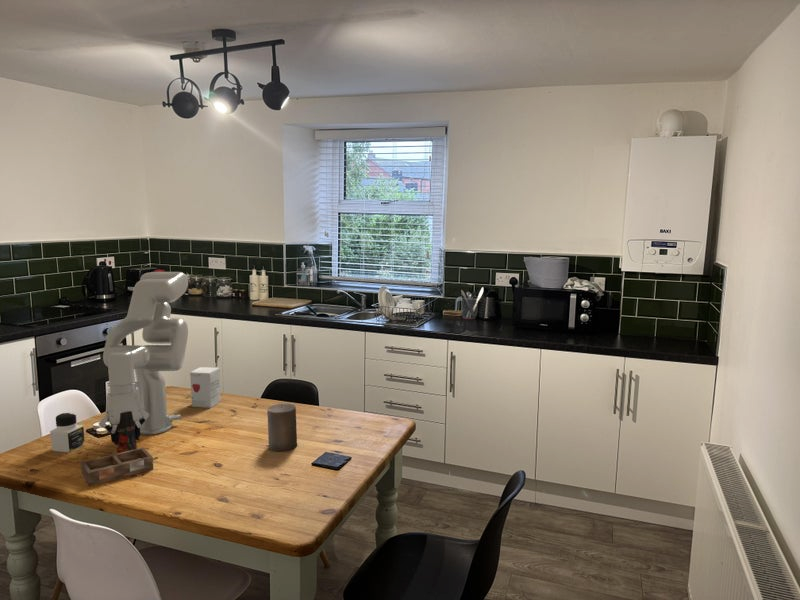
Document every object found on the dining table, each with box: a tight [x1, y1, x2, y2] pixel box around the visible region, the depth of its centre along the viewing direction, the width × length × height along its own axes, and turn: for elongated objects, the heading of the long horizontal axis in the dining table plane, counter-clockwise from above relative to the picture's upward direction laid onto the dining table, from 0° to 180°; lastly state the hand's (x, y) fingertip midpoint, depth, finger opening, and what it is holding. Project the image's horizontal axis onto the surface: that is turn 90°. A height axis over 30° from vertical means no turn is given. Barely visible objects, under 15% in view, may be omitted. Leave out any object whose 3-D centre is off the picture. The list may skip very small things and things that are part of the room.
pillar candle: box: [266, 403, 298, 452], centre depth 197 cm, size 10×10×15 cm
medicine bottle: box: [49, 411, 86, 453], centre depth 195 cm, size 7×7×12 cm
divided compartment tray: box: [80, 446, 154, 487], centre depth 177 cm, size 18×10×4 cm, turn 130°
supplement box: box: [189, 366, 222, 409], centre depth 242 cm, size 9×9×15 cm
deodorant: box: [116, 411, 138, 454], centre depth 190 cm, size 6×6×15 cm
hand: (126, 440), depth 191 cm, fingers closed on deodorant, 5 cm apart
